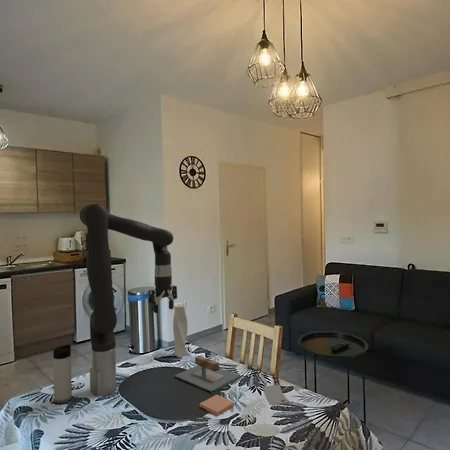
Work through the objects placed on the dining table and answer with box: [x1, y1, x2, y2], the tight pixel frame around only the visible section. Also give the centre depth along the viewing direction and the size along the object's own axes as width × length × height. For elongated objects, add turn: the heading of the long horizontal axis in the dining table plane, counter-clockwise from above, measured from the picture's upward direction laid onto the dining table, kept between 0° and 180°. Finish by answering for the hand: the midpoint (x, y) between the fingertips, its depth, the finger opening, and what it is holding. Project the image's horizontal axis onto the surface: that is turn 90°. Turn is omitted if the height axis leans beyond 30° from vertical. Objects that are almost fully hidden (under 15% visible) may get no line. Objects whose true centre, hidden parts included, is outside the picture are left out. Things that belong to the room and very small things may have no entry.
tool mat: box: [174, 365, 241, 391], centre depth 158 cm, size 18×22×1 cm
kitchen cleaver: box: [262, 374, 290, 406], centre depth 146 cm, size 24×1×10 cm
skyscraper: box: [172, 300, 191, 358], centre depth 185 cm, size 8×8×28 cm
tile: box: [199, 394, 235, 417], centre depth 134 cm, size 9×2×9 cm
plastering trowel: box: [193, 355, 225, 383], centre depth 157 cm, size 13×7×7 cm, turn 49°
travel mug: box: [52, 344, 73, 404], centre depth 140 cm, size 6×7×20 cm
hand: (163, 310), depth 162 cm, fingers open, 8 cm apart
